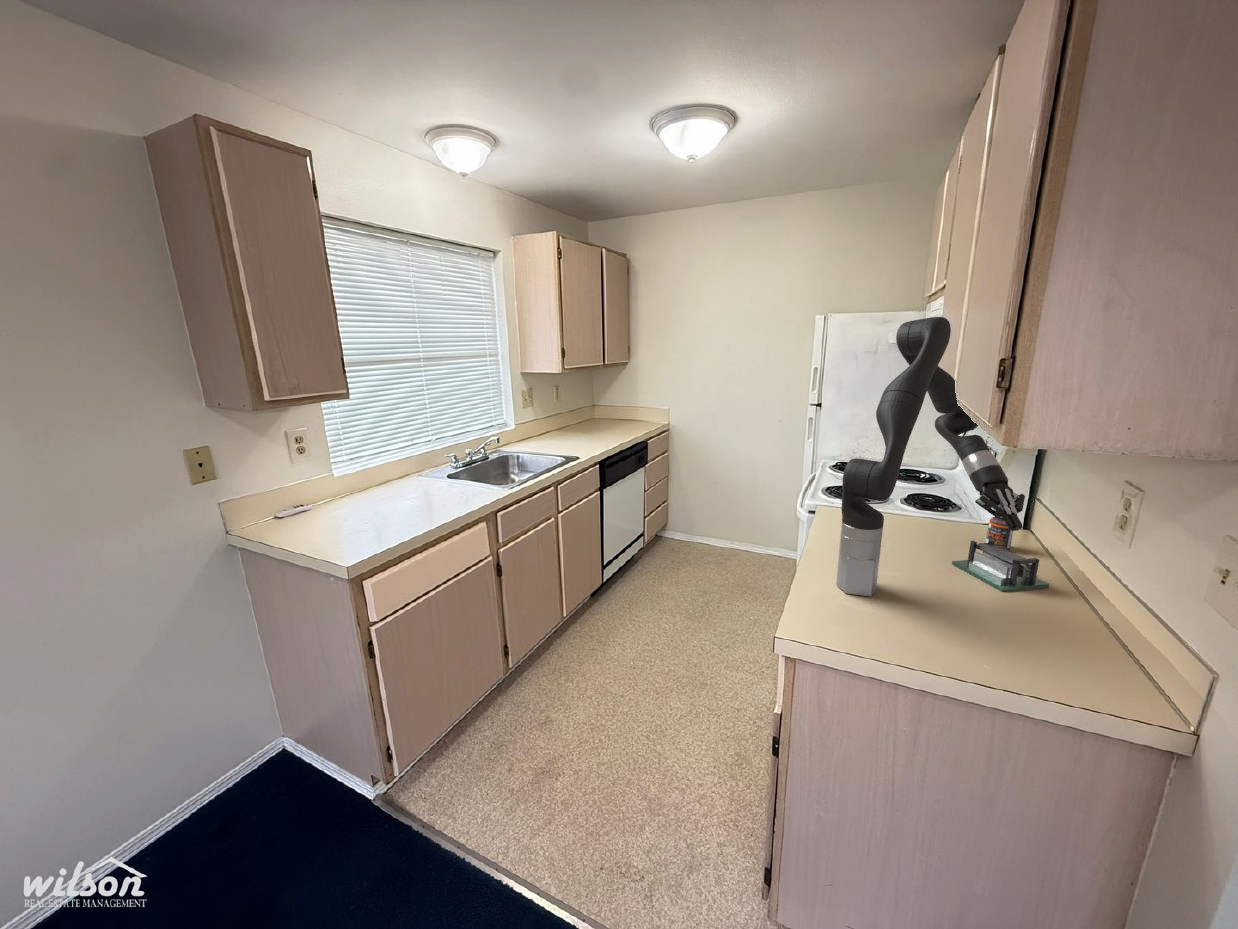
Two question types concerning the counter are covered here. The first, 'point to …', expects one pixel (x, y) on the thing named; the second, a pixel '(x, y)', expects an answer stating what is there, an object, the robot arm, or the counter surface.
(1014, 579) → the heatsink
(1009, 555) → the retention strap
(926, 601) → the counter surface
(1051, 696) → the counter surface
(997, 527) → the supplement bottle
